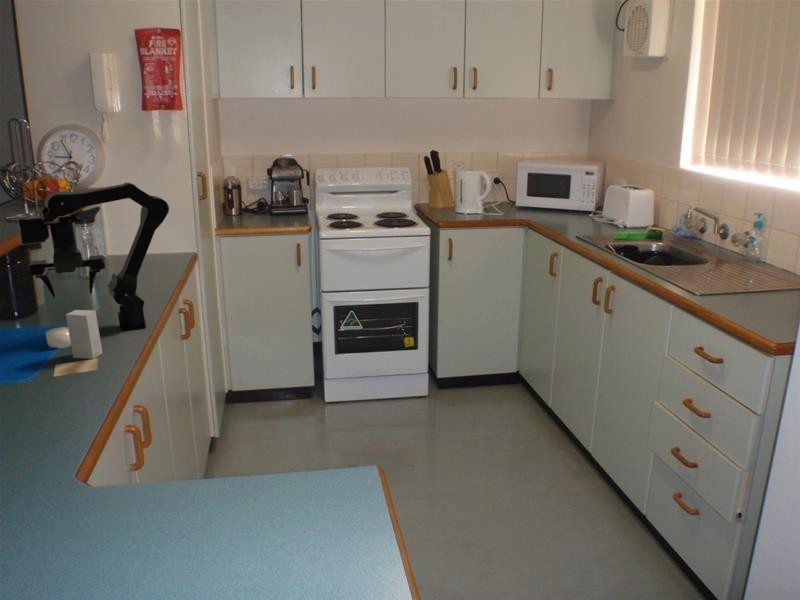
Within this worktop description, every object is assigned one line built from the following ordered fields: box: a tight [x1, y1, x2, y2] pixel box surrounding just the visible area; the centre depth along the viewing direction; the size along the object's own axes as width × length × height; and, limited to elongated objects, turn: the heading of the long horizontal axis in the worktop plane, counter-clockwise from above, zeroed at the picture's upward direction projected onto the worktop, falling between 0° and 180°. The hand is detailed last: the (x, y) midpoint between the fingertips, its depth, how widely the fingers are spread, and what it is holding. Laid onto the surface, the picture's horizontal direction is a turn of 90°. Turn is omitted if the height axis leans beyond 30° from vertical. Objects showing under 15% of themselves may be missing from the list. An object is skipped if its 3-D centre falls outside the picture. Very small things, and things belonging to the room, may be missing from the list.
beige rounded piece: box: [45, 326, 71, 350], centre depth 190 cm, size 6×6×4 cm
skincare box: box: [65, 309, 103, 360], centre depth 181 cm, size 6×4×12 cm
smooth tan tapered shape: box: [52, 358, 99, 378], centre depth 175 cm, size 10×8×1 cm
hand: (73, 295), depth 192 cm, fingers open, 9 cm apart
